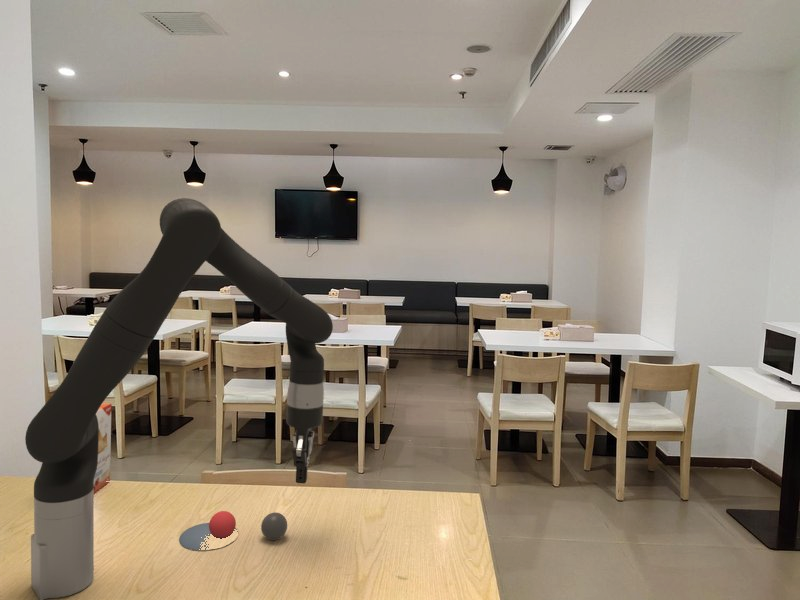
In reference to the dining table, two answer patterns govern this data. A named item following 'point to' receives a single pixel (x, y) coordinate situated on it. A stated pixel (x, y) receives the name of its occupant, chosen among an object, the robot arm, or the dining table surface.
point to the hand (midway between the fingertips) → (301, 481)
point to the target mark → (195, 536)
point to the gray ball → (274, 526)
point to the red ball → (222, 524)
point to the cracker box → (103, 446)
